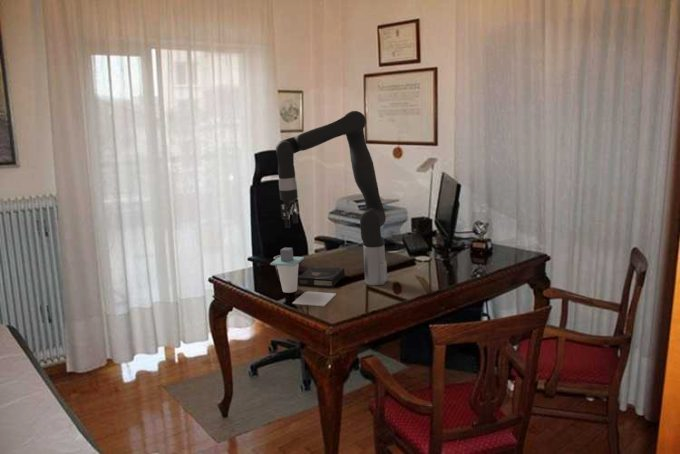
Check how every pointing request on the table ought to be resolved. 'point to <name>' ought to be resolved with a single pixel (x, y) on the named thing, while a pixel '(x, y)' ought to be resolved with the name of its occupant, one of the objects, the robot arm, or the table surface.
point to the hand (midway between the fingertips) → (291, 225)
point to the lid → (287, 258)
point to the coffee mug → (276, 265)
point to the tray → (314, 298)
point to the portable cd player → (321, 276)
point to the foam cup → (288, 277)
